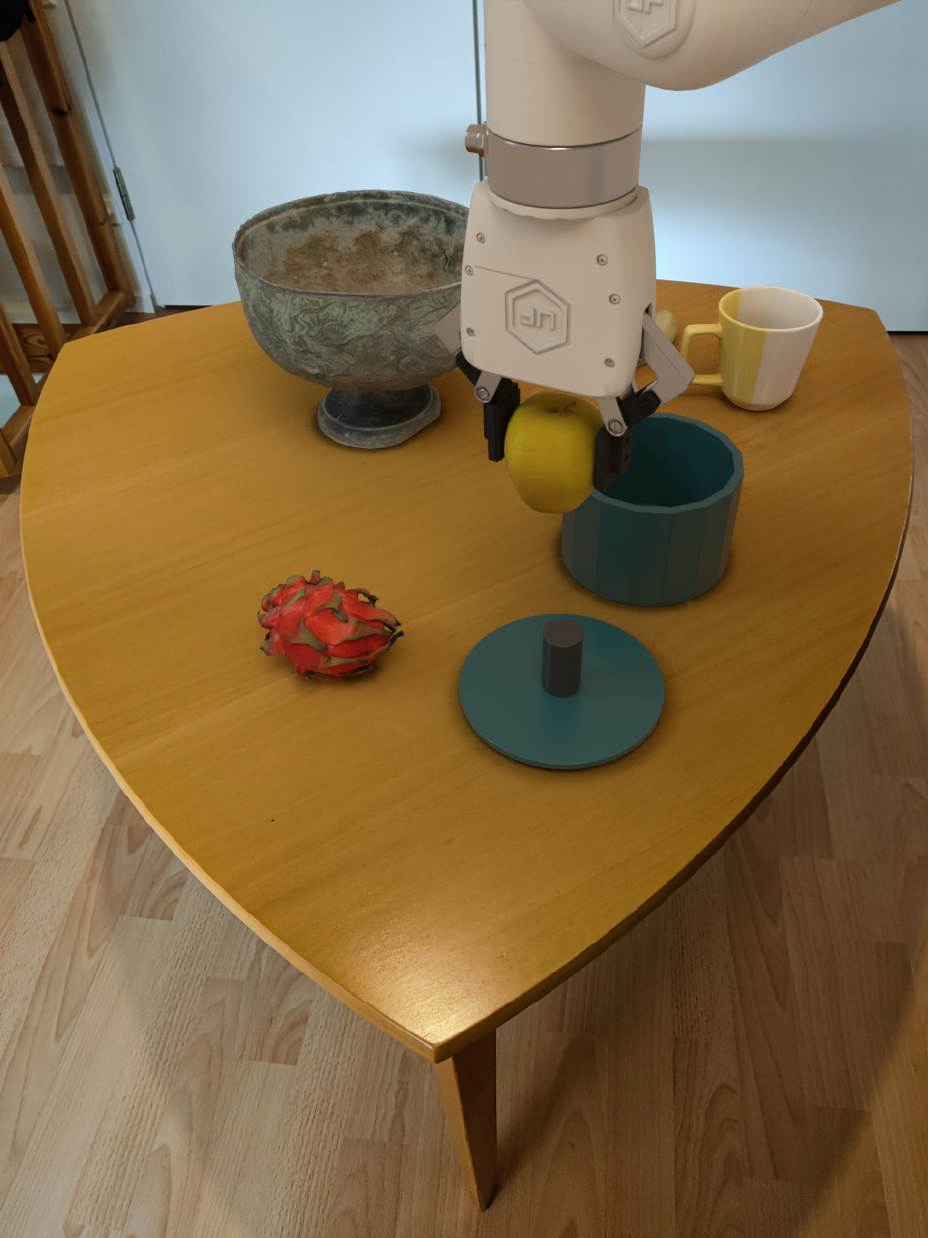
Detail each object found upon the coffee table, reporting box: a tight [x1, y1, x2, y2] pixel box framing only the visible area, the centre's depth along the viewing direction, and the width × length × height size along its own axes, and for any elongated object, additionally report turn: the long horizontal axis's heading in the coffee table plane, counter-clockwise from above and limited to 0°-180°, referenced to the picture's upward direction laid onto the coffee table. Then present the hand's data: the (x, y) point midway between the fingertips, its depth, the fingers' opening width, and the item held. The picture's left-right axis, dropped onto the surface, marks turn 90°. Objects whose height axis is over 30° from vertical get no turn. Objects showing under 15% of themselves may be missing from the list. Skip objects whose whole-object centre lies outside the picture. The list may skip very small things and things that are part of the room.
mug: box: [679, 285, 824, 412], centre depth 104 cm, size 14×10×10 cm
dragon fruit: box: [256, 569, 405, 682], centre depth 79 cm, size 8×8×12 cm
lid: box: [458, 613, 666, 770], centre depth 75 cm, size 16×16×7 cm
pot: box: [560, 411, 745, 607], centre depth 86 cm, size 15×15×10 cm
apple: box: [504, 391, 604, 515], centre depth 61 cm, size 6×6×8 cm
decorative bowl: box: [231, 189, 473, 450], centre depth 102 cm, size 26×26×20 cm
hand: (555, 462), depth 61 cm, fingers closed on apple, 6 cm apart
